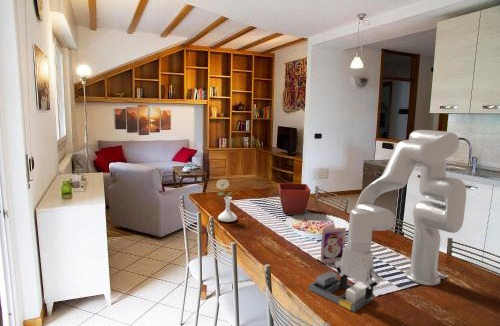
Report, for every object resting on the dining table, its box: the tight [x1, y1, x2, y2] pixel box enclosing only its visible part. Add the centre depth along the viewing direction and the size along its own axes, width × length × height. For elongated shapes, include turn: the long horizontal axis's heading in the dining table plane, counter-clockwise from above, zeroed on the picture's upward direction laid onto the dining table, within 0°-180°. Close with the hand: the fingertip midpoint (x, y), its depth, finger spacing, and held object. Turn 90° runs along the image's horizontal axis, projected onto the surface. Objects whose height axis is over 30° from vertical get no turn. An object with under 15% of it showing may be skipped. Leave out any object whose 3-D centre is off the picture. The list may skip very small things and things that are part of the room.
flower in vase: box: [215, 178, 238, 223], centre depth 205 cm, size 13×11×25 cm
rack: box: [308, 270, 374, 313], centre depth 125 cm, size 12×19×5 cm, turn 42°
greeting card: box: [320, 223, 347, 263], centre depth 155 cm, size 11×7×15 cm, turn 105°
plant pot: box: [278, 182, 311, 215], centre depth 227 cm, size 19×19×17 cm
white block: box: [345, 282, 367, 304], centre depth 122 cm, size 8×4×5 cm, turn 132°
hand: (355, 292), depth 121 cm, fingers open, 9 cm apart
